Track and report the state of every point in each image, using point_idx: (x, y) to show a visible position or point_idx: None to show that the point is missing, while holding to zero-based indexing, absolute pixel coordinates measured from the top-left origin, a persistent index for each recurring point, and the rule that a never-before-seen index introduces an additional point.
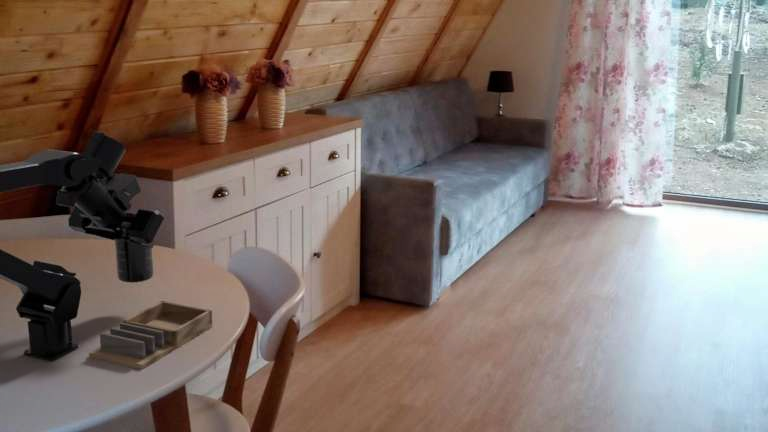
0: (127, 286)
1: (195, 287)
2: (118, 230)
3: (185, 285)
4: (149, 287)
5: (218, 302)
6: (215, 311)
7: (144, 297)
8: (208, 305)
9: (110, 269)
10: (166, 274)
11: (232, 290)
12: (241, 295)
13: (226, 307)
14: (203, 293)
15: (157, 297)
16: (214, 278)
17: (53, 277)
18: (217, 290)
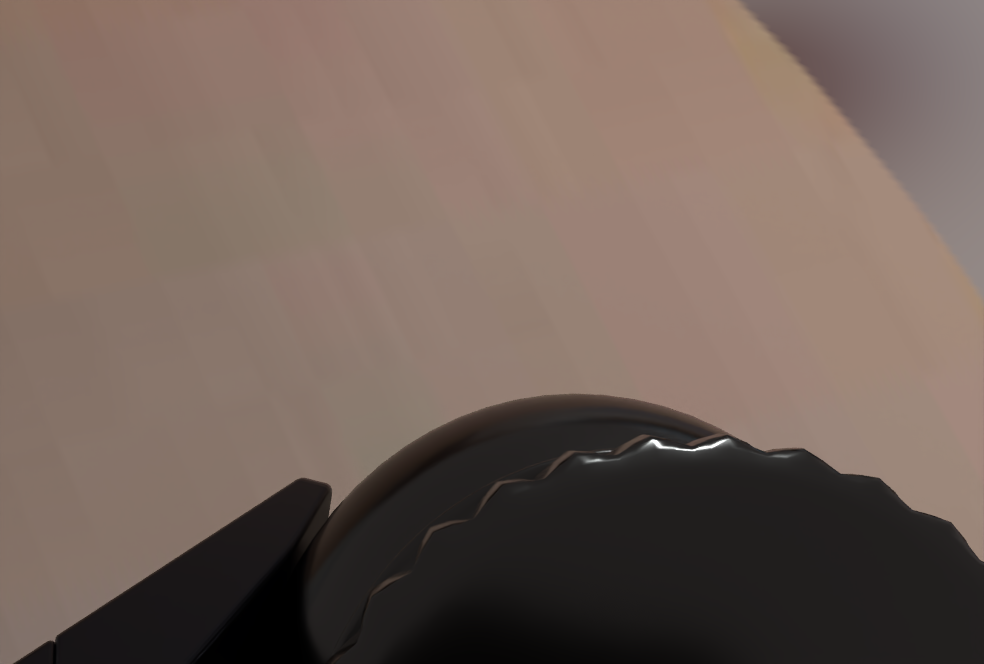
0: (244, 238)
1: (641, 175)
2: (226, 650)
3: (572, 158)
4: (384, 227)
5: (881, 365)
6: (943, 504)
7: (430, 387)
8: (855, 423)
9: (22, 5)
10: (387, 23)
11: (854, 178)
12: (938, 237)
13: (964, 428)
14: (730, 252)
15: (507, 369)
16: (672, 34)
17: None
18: (779, 194)
